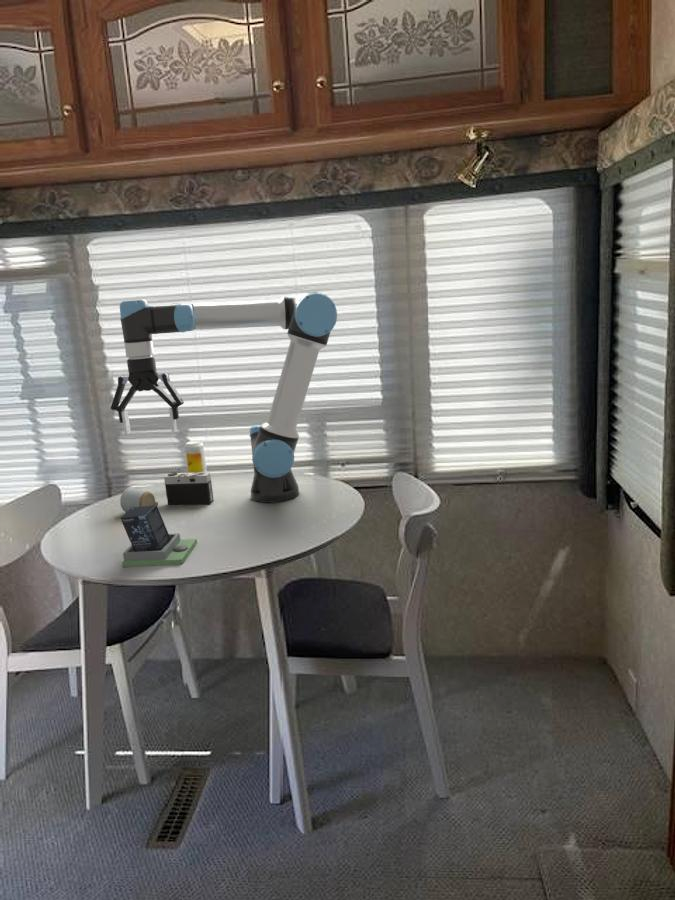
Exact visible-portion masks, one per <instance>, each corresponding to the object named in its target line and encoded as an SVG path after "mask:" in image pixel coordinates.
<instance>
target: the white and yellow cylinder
mask: <svg viewBox="0 0 675 900" xmlns="http://www.w3.org/2000/svg"><path fill="white" fill-rule="evenodd" d="M184 447H185V455H186V462H187V463H186V464H187V470H188V472H187V473H199V472H208V471H207V462H206V454H205V447H204V443H203V441H202V440H191V441H188V442H186V443H185V446H184Z"/></svg>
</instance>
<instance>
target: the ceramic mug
mask: <svg viewBox="0 0 675 900" xmlns="http://www.w3.org/2000/svg"><path fill="white" fill-rule="evenodd" d="M119 501H120V507H121V509H122V511H123V512H124V513H126V512H127V511H128V510H129V509H130V508H131V507H141V506H151V505H157V507H158V505H159V502H158V501H156V497H155V495H154V494H153V492H151V491H148V490H146V489H141V488H140V489H139V488H135V487H128V488H126V489H124V491H122V493H121V496H120V500H119ZM158 508H159V507H158Z"/></svg>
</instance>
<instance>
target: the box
mask: <svg viewBox="0 0 675 900" xmlns="http://www.w3.org/2000/svg"><path fill="white" fill-rule="evenodd" d="M119 518H120V521H121V524H122V525H123V528H124V531H125V532H126V535H127V537H128V539H129V541H130V545H131V544H132V547H133V549H134V551H135V552H140V551H161V550H162V549H163V548H164V547H165V545H166V544H167V543H168V542H169V541H170V540H171V539H170V536H169V534H170V533H169V532H168V530H167V527H166V524H165V522H164V520H163V517H162V514H161V512H160V509H159V507H157V505H151V506H141V507H131V508H130V509H129V510H128V511H127V512H124V514H123V515H121V517H119Z"/></svg>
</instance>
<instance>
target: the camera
mask: <svg viewBox="0 0 675 900" xmlns="http://www.w3.org/2000/svg"><path fill="white" fill-rule="evenodd" d="M163 479H164V485H165V487H164V488H165V493H166V500H167V506H171V507H172V506H199V505H200V506H201V505H202V506H206V505H211V504H213V502H214V501H215V500H214V495H213V494H214V493H213V485H212V478H211V472H209V471H207V472H199V473H189V472H180V473H179V472H169V473H167V474H166V475H165V476H164V477H163Z"/></svg>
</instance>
